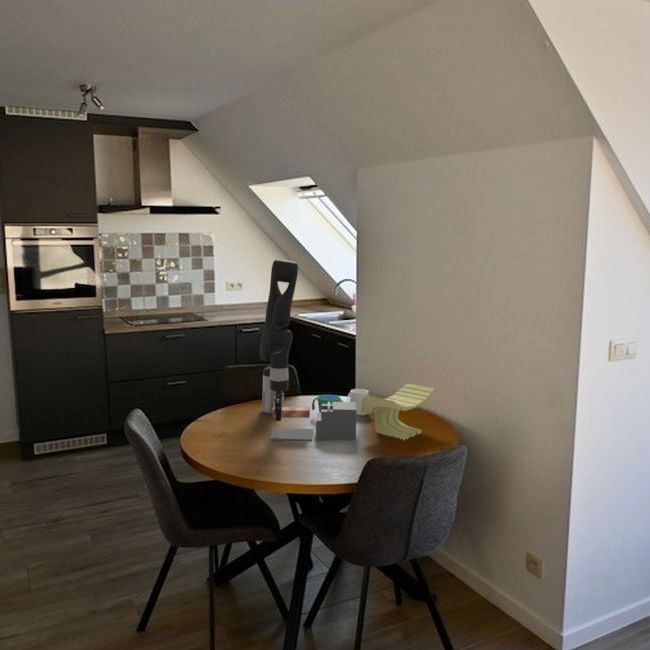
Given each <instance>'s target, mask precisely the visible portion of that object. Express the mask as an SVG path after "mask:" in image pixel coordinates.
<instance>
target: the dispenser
mask: <svg viewBox="0 0 650 650" xmlns="http://www.w3.org/2000/svg"><path fill="white" fill-rule="evenodd" d="M356 411H357V410H356V403H355V402H350V401H348V402H347V401H344V402H333V403H332V404H330V402H328V403H327V404H322V410H321V413H319V412H316V417H315V418H316V420H315V441H343V442H344V441H345V442H346V441H348V442H349V441H351V442H354V441H355V442H356V440H357V415H356Z"/></svg>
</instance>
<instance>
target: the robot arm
mask: <svg viewBox="0 0 650 650" xmlns="http://www.w3.org/2000/svg"><path fill="white" fill-rule="evenodd" d="M298 275H299V266H298V263H297V262H296V261H293V260H292V261H291V260H285V259H283V260H282V259H275V260H274V261H272V266H271V273H270V281H269V282H270V284H269V293H268V300H267V304H266V311H265V320H264V327H263V331H262V332H263V333H262V336H261V341H260V345H259V358H260V360H262V361H264V362H265V361H267V362H269V361H270V365H269V366H266V367H264V368H263V370H262V393H261V395H262V396H261V397H262V398H261V401H262V402H261V403H262V407H261V410H262V411H261V412H262V413H266V414H272V410H273V407H275V412H276V418H275V421H276V422H281V421H282V418H281V411H282V410H281V409H282V407H284V400H285V393H284V392H286V391H288V390H289V353H290V350H291V347H292V343H293V337H294V336H293V332H292V331H291V330H290V329H282V328H286V327H288V326H289V324H290V321H291V311H292V304H293V301H294V295H295V291H296V290H295V289H296V284H297V280H298ZM279 282H280V283H288V285H287V287H286V289H285V290H284V292H283V293H282V291H281V290H280V287H279ZM277 407H280V409H277Z"/></svg>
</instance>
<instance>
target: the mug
mask: <svg viewBox="0 0 650 650" xmlns="http://www.w3.org/2000/svg"><path fill="white" fill-rule="evenodd" d="M369 393H370V392H369V390H368V389H365V388H353V389H351V390H350V392H349V393H348V394H347V397H346V402H355V403H356V410H357V411H356V416H357V415H362V416H366V415H368V414H367V413H363V412H361V401H362V398H363V397H364V396H370V394H369ZM365 414H366V415H365Z"/></svg>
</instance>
